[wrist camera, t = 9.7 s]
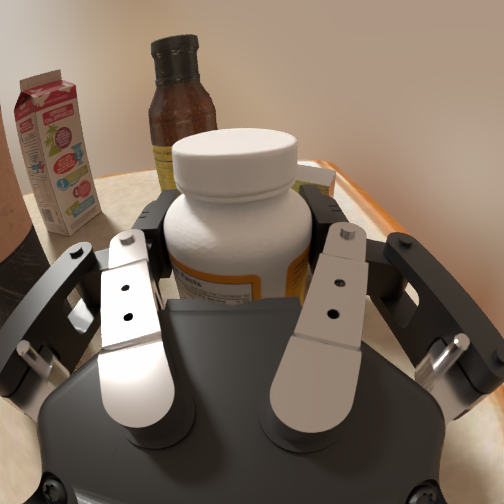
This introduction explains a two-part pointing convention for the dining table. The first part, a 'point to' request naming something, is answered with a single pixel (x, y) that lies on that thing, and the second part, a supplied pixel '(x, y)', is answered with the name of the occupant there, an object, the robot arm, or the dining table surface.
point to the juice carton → (55, 152)
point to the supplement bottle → (238, 217)
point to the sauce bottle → (177, 101)
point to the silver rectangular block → (324, 183)
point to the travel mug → (16, 240)
